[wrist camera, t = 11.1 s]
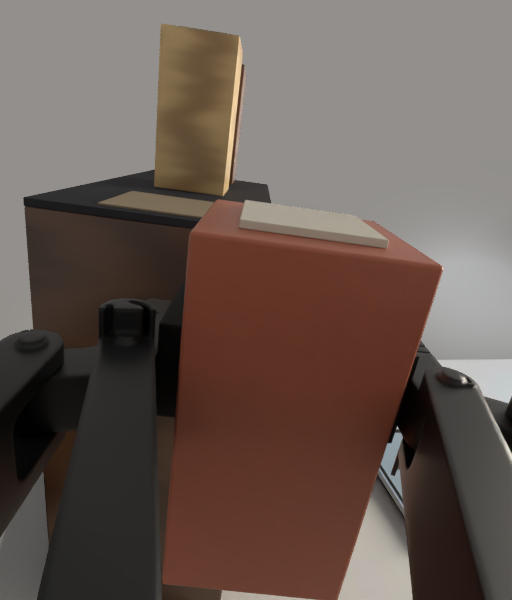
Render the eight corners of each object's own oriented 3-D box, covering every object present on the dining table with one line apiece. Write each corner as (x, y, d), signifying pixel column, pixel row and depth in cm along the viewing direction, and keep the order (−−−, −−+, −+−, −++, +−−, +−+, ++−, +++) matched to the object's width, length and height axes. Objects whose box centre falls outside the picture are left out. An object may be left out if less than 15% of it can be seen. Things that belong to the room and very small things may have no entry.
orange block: (161, 585, 11) (189, 220, 7) (190, 455, 16) (216, 191, 12) (337, 603, 11) (449, 256, 8) (315, 469, 16) (377, 214, 12)
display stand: (51, 599, 29) (23, 205, 19) (147, 391, 53) (156, 172, 43) (218, 615, 29) (276, 240, 19) (237, 402, 53) (266, 188, 44)
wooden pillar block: (153, 186, 29) (160, 19, 25) (168, 181, 33) (176, 39, 30) (223, 196, 29) (240, 31, 25) (228, 189, 33) (243, 50, 30)
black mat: (23, 205, 19) (22, 195, 19) (156, 172, 43) (157, 168, 43) (276, 240, 19) (278, 229, 19) (266, 188, 44) (267, 183, 43)
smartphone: (427, 545, 36) (353, 430, 49) (423, 552, 36) (351, 436, 50) (493, 536, 38) (405, 427, 51) (490, 542, 38) (403, 433, 52)
